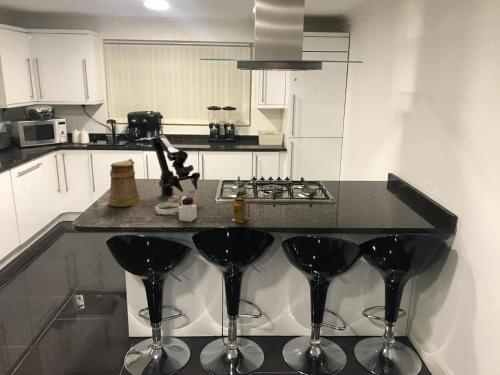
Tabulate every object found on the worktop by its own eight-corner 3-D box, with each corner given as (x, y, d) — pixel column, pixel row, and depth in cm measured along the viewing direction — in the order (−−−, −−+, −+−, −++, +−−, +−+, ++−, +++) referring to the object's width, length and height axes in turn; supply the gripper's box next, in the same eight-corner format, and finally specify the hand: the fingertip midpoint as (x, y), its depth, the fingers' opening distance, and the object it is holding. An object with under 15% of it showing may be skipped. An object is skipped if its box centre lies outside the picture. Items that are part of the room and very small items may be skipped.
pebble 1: (171, 201, 258) (171, 196, 257) (173, 199, 261) (173, 195, 260) (176, 201, 258) (175, 196, 257) (178, 200, 260) (177, 195, 260)
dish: (152, 214, 238) (151, 208, 237) (162, 206, 250) (162, 202, 249) (174, 215, 235) (174, 210, 234) (183, 208, 247) (183, 203, 246)
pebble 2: (174, 202, 256) (174, 197, 255) (176, 201, 258) (176, 196, 258) (179, 202, 255) (179, 198, 254) (181, 201, 258) (181, 196, 257)
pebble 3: (180, 201, 258) (180, 196, 257) (182, 199, 261) (182, 195, 260) (184, 201, 257) (184, 196, 256) (186, 200, 260) (186, 195, 259)
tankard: (103, 207, 250) (99, 165, 243) (120, 196, 272) (117, 157, 266) (133, 208, 248) (129, 166, 241) (147, 197, 270) (145, 158, 264)
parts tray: (167, 203, 256) (167, 199, 255) (173, 200, 263) (173, 195, 263) (183, 204, 254) (183, 200, 253) (188, 201, 261) (188, 196, 260)
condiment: (230, 220, 228) (230, 198, 224) (241, 216, 234) (241, 195, 231) (241, 223, 223) (240, 201, 220) (251, 218, 229) (251, 197, 226)
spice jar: (188, 209, 245) (187, 191, 243) (191, 207, 250) (190, 189, 247) (195, 209, 244) (194, 191, 242) (198, 207, 249) (197, 189, 246)
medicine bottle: (196, 217, 231) (196, 196, 228) (191, 221, 225) (190, 200, 222) (185, 216, 234) (184, 195, 231) (178, 220, 227) (177, 198, 224)
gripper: (169, 162, 241) (179, 185, 236) (198, 158, 252) (208, 180, 246) (164, 173, 250) (173, 196, 244) (192, 169, 260) (202, 190, 254)
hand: (189, 190), depth 247 cm, fingers open, 9 cm apart
